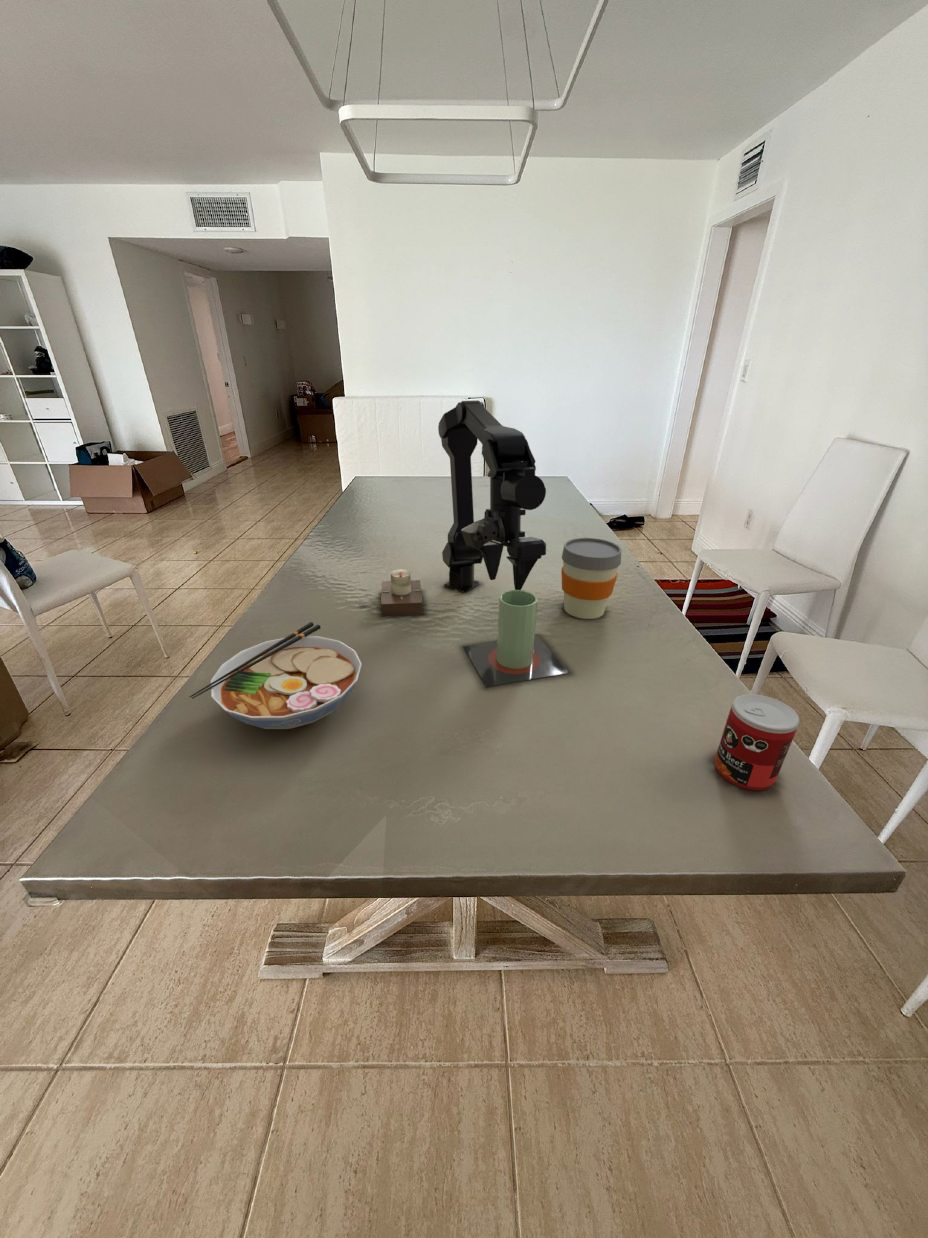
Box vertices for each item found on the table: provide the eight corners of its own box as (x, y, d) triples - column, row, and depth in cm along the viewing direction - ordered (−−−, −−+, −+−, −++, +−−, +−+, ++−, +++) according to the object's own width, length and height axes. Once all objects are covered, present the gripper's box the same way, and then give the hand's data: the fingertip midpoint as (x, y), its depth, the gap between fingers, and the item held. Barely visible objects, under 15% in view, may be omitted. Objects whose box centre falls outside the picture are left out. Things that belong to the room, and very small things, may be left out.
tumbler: (500, 647, 103) (503, 587, 97) (534, 652, 101) (540, 592, 95) (492, 665, 97) (495, 603, 91) (528, 671, 96) (534, 608, 89)
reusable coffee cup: (614, 602, 122) (624, 541, 114) (609, 626, 111) (620, 561, 104) (561, 594, 125) (567, 534, 118) (551, 617, 115) (558, 553, 108)
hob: (463, 647, 103) (463, 646, 103) (537, 636, 107) (537, 635, 107) (486, 687, 91) (486, 686, 91) (568, 673, 96) (568, 672, 96)
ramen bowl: (282, 785, 71) (272, 739, 67) (182, 726, 81) (168, 683, 78) (397, 693, 90) (394, 653, 86) (303, 654, 100) (297, 617, 96)
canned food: (703, 754, 77) (722, 694, 72) (754, 751, 78) (776, 692, 73) (731, 794, 71) (753, 731, 65) (786, 790, 71) (813, 728, 66)
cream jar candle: (391, 587, 120) (390, 568, 118) (410, 586, 121) (410, 567, 118) (391, 595, 116) (390, 576, 114) (411, 595, 117) (410, 575, 114)
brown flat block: (382, 592, 125) (381, 580, 123) (420, 591, 126) (419, 579, 124) (381, 616, 114) (380, 603, 113) (422, 614, 115) (422, 601, 114)
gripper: (444, 501, 101) (446, 580, 106) (494, 512, 85) (494, 603, 90) (493, 498, 106) (493, 573, 111) (549, 507, 90) (546, 594, 95)
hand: (504, 584), depth 102 cm, fingers open, 9 cm apart
